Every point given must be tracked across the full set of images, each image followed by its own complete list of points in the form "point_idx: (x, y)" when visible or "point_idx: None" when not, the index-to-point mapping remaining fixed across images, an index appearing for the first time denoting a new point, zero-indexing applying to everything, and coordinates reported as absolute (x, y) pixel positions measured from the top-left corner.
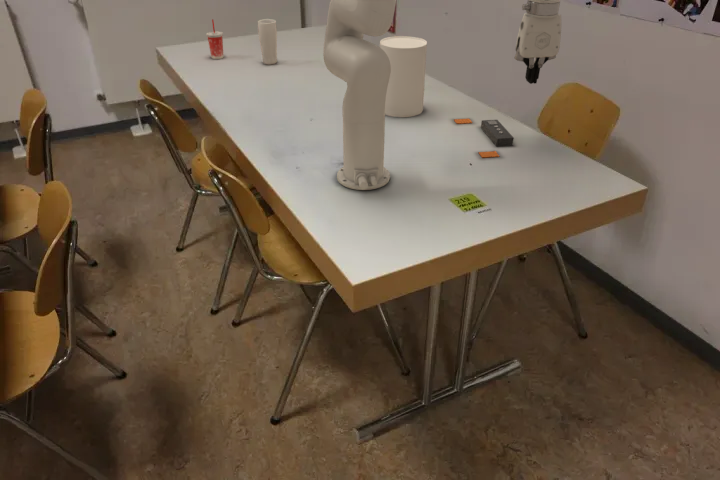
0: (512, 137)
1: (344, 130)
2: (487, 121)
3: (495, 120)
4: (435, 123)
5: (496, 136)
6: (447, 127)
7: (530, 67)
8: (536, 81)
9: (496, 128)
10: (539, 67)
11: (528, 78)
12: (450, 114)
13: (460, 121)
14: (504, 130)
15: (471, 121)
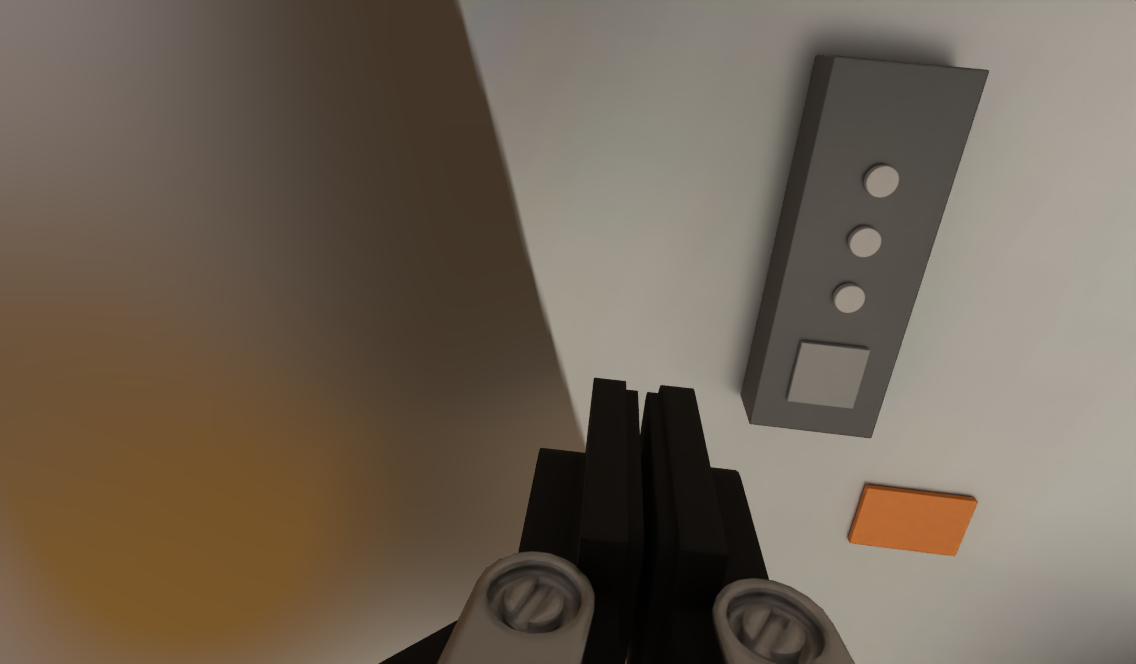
0: (843, 62)
1: None
2: (854, 400)
3: (772, 411)
4: (1105, 539)
5: (965, 116)
6: (1073, 467)
7: (780, 613)
8: (598, 388)
9: (858, 274)
10: (548, 574)
11: (722, 472)
12: (914, 627)
13: (938, 517)
14: (818, 222)
15: (864, 500)
